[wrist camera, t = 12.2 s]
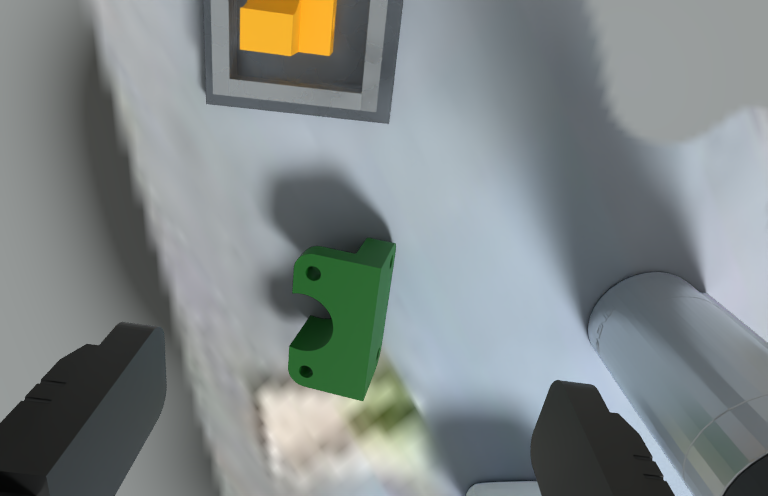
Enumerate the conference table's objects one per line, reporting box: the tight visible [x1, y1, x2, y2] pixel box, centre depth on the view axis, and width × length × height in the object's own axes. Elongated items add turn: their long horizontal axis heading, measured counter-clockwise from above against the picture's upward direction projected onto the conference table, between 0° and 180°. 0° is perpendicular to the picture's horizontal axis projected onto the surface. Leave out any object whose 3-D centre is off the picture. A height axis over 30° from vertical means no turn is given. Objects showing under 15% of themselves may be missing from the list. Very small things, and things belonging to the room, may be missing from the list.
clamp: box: [288, 238, 396, 401], centre depth 38 cm, size 12×6×9 cm, turn 166°
